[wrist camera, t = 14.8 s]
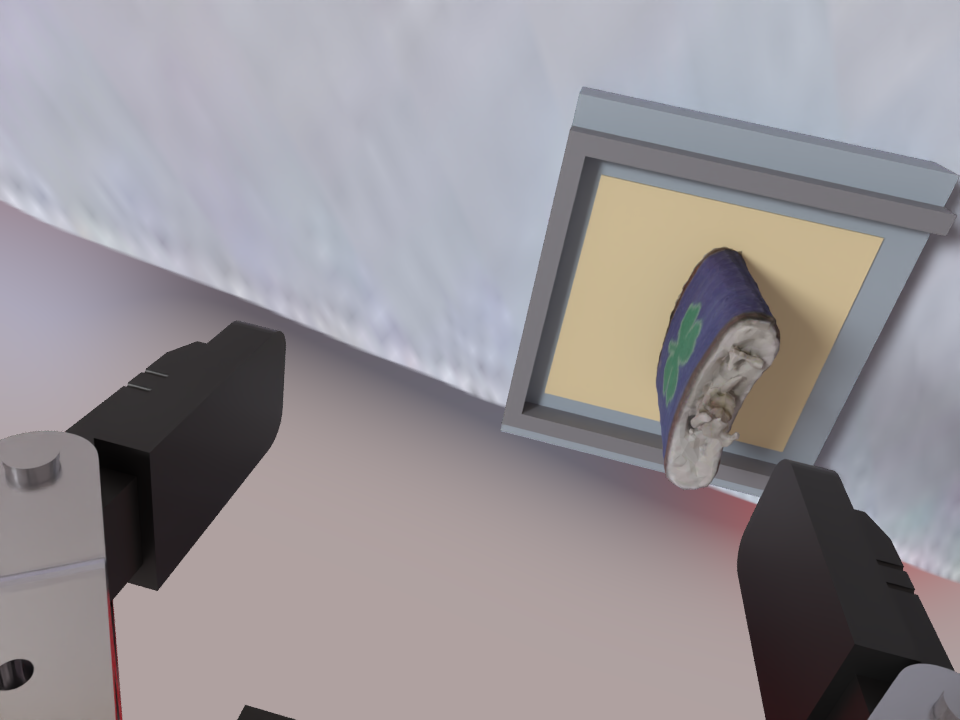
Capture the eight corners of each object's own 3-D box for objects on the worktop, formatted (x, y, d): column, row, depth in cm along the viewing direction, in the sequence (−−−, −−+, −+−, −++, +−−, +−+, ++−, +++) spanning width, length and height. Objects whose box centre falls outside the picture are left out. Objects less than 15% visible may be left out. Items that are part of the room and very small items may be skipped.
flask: (691, 402, 40) (710, 525, 31) (641, 388, 41) (645, 505, 31) (757, 252, 36) (803, 342, 27) (700, 237, 36) (726, 320, 27)
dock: (582, 86, 37) (577, 97, 33) (935, 162, 36) (973, 183, 32) (507, 406, 46) (496, 444, 43) (783, 475, 45) (798, 521, 41)
